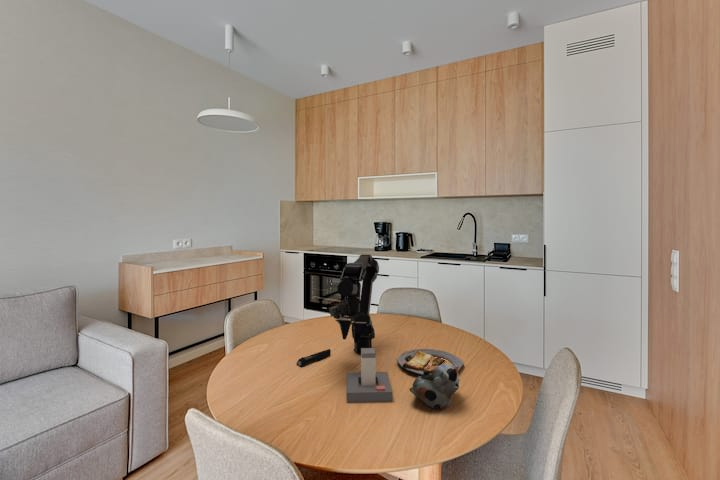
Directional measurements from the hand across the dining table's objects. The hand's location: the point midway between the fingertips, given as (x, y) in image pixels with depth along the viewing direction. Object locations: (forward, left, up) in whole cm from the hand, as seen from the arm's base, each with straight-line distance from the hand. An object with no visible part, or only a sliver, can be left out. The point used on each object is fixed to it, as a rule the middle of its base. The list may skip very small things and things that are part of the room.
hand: (349, 340), depth 124 cm
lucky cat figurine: (-15, +29, -12) cm, 35 cm away
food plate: (-30, +9, -12) cm, 33 cm away
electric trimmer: (+8, -16, -12) cm, 22 cm away
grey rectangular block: (0, +15, -11) cm, 18 cm away
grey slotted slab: (0, +15, -12) cm, 19 cm away
